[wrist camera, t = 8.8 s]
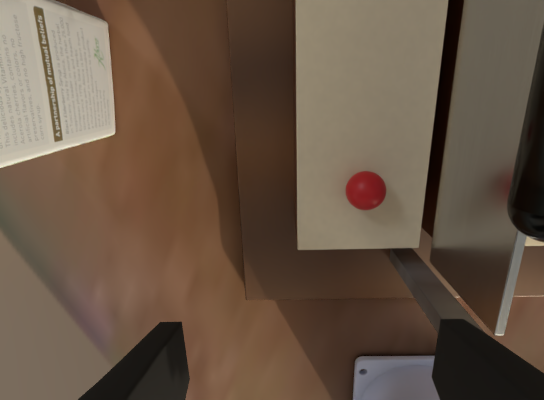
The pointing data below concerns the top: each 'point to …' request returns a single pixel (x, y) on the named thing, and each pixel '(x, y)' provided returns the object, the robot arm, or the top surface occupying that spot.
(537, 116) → the cleaver knife
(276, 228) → the cutting board
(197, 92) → the top surface
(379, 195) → the cake
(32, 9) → the syrup box
